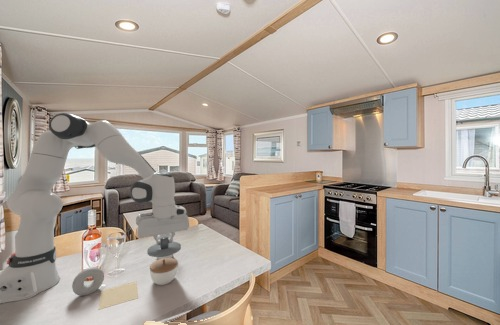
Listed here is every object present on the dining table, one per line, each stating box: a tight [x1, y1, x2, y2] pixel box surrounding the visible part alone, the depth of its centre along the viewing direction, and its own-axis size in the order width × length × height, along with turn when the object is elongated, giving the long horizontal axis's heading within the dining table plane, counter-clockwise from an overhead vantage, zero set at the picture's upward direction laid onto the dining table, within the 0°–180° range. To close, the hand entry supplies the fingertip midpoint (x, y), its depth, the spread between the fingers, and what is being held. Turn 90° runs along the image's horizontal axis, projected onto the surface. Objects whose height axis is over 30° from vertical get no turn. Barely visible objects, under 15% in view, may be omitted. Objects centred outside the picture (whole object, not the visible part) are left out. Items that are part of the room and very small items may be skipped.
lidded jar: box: [149, 257, 179, 286], centre depth 90 cm, size 11×11×9 cm
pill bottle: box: [156, 233, 174, 260], centre depth 111 cm, size 8×8×15 cm
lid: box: [146, 237, 182, 258], centre depth 90 cm, size 13×13×5 cm
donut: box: [71, 266, 105, 297], centre depth 82 cm, size 10×4×10 cm, turn 141°
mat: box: [98, 281, 139, 310], centre depth 81 cm, size 12×12×1 cm
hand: (164, 243), depth 90 cm, fingers closed on lid, 3 cm apart
